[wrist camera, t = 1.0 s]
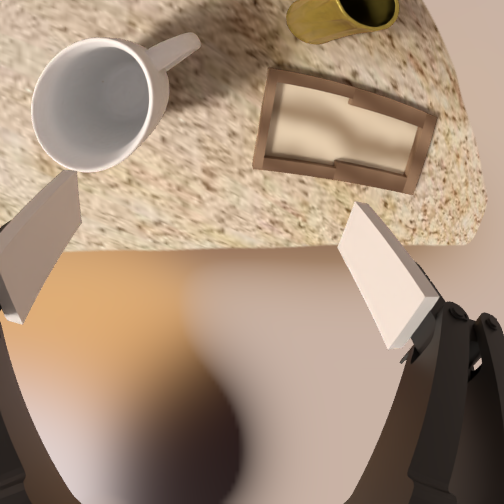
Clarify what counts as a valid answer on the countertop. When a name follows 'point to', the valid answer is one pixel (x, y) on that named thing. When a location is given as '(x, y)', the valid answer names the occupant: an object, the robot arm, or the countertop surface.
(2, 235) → the robot arm
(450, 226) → the countertop surface
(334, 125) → the shallow serving tray
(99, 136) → the mug
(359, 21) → the vase
